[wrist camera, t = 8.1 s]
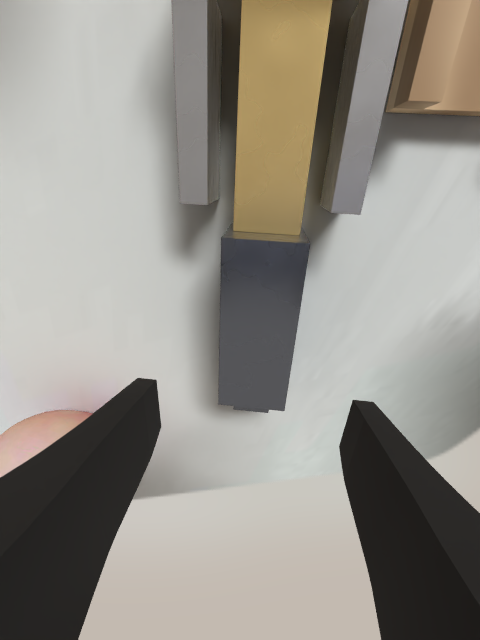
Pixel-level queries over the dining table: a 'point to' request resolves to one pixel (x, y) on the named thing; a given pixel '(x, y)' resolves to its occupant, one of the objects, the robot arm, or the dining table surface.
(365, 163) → the sleeve
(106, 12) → the dining table surface
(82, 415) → the decorative fruit
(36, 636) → the robot arm
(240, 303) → the tall gray pillar
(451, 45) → the rack
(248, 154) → the tan blocky piece
